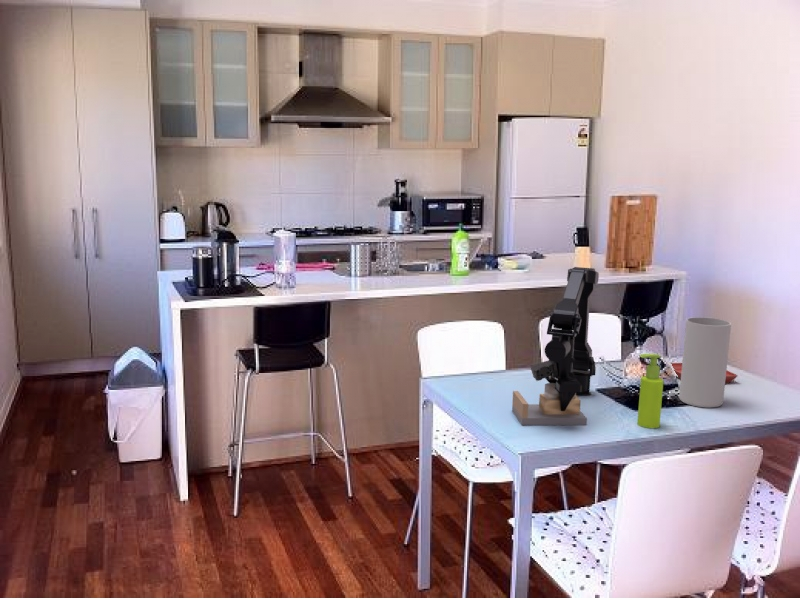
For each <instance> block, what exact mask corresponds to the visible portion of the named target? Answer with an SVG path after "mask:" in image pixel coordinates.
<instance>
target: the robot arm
mask: <svg viewBox="0 0 800 600" xmlns="http://www.w3.org/2000/svg"><path fill="white" fill-rule="evenodd" d="M599 275H600V274H599V272H598V271H596V268H595V267H594V268H593V267H592V268H591V267H582V266H581V267H580V266H574V267H572V268H569V269H567V278H566V282H567V284H566V287H565V290H564V292H563V295H562V299H561V300H560V301H559V302H557V303H555V306H554V308H553V310H552V311H551V312H550V315H549V320H548V325H547V330H546V335H551V339H550V340H549V342H548V343H547V344H546V345H545V347H544V354H545V356H546V358H547V360H546V361H541V362H539V363H536V364H533V365H531V366H530V370H531V374H532V377H533V378H534V380H535V381H536V382H538V381H542V380H543V379H545V380H546V382H548V383H555V384H556V387H554V388H555V390H556V391H557V392H558V393H559V400H560V409H561V411H565V410H566V408H567V406H568V405H569V403H570V401H571V400H572V398H573V396H574V395H575V393H576V396H586V395H587V396H590V395H592V392H591V391H590V388H591V377H593V376H596V371H597V370H596V361H595V359H594V356H593V349H592V348H591V346H590V344H589V342H588V338H589V321H590V320H589V318H590V305H591V304H590V302H591V301H590V299H591V295H592V293H593V292H594V291H595V289H596V288H597V285H598V283H599V279H600V277H599Z"/></svg>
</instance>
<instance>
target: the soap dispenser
mask: <svg viewBox="0 0 800 600" xmlns="http://www.w3.org/2000/svg"><path fill="white" fill-rule="evenodd" d="M638 356H639V357H640V358H642V359H644V358H645V359H646V358H650V364H648V365H646V369H645V370H646V371H645V372H646V373H645V376H641V377H640V385H639V386H640V388H639V399H638V409H637V425H638V426H639V427H641V428H642V427H643V428H646V429H657V428H659V427H660V426H661V414H662V405H663V404H662V401H663V391H664V379H663V378H661V377H660V370H661V367H660V366H659V365H658V359H659V358H661V355H660V354H658V353H642V354H639V355H638Z"/></svg>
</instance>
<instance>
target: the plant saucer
mask: <svg viewBox="0 0 800 600" xmlns="http://www.w3.org/2000/svg"><path fill="white" fill-rule="evenodd" d="M670 363H671V364H672V366H673V368H674V369H675V370H674V371H675V372H676V374H677V375H678V377H679V378H678V377H677V378H678V379H680V380H681V371H682V362H670ZM736 378H738V374H736V373H734V372H731V371H729V370H728V369H727V370H726V379H725V384H729V383H731V382H732V381H734V380H735V379H736Z"/></svg>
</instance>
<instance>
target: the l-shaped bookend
mask: <svg viewBox="0 0 800 600" xmlns="http://www.w3.org/2000/svg"><path fill="white" fill-rule="evenodd" d="M511 403H512V405H511V407H512V408H511V412H512V413H513V415H514V416H515V417H516V419H517V420H518V422H519V424H520V425H521V426H587V423H588V422H587V421H588V420H587V419H588V417H587V416H586V415H585V414H584V413H583V412H582V411H581V410H580V414H544V413H543V412H542V411H541V410H540V408H539V403H537V404H536V403H535V404H534V403H533V404H530V403H528V402H527V400H526V399H525V398H524V397H523V395H522V394H521V392H520V391H519V390H512V402H511Z"/></svg>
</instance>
